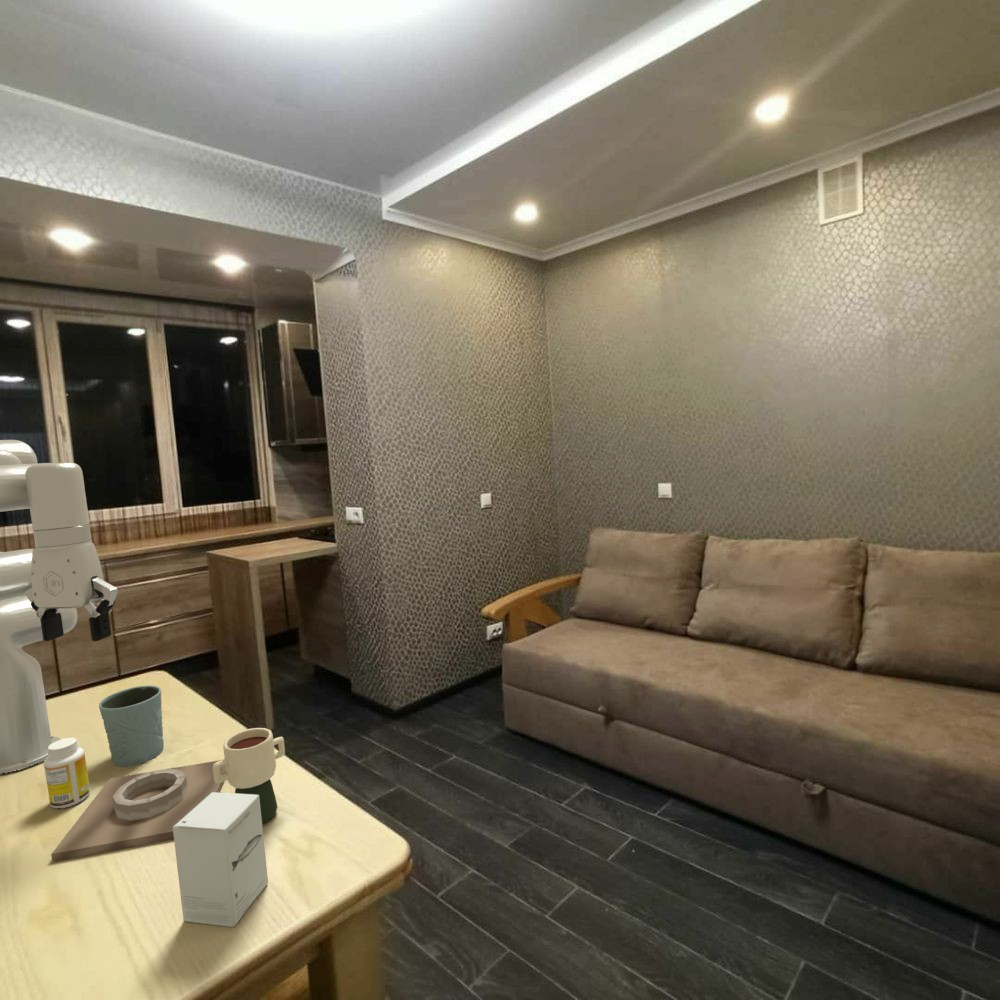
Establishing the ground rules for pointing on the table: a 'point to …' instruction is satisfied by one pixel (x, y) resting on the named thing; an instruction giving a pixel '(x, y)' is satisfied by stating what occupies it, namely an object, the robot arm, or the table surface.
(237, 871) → the supplement box
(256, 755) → the character mug
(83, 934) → the table surface
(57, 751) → the supplement bottle
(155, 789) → the collar board
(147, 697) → the blue-grey plant pot
